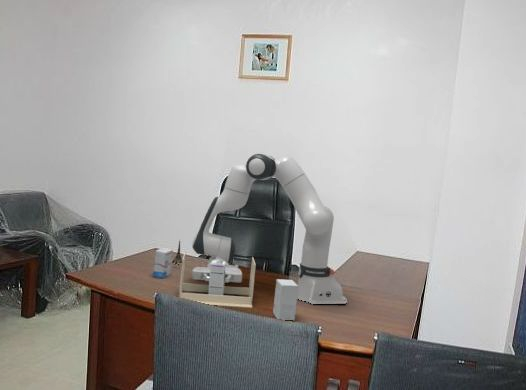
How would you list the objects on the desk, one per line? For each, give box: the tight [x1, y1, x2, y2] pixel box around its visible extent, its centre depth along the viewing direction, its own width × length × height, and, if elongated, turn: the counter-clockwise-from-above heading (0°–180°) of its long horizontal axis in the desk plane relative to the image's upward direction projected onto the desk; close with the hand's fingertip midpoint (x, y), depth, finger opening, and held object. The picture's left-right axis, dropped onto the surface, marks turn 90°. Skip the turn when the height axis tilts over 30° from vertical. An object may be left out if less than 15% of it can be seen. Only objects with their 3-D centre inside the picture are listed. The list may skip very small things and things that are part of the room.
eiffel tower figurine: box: [172, 240, 183, 269], centre depth 233 cm, size 15×10×13 cm
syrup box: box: [207, 260, 226, 296], centre depth 186 cm, size 6×6×14 cm
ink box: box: [153, 247, 174, 279], centre depth 209 cm, size 9×5×12 cm, turn 168°
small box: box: [272, 278, 298, 322], centre depth 172 cm, size 8×6×13 cm
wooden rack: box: [178, 251, 257, 309], centre depth 186 cm, size 28×19×16 cm
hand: (217, 280), depth 184 cm, fingers closed on syrup box, 6 cm apart
